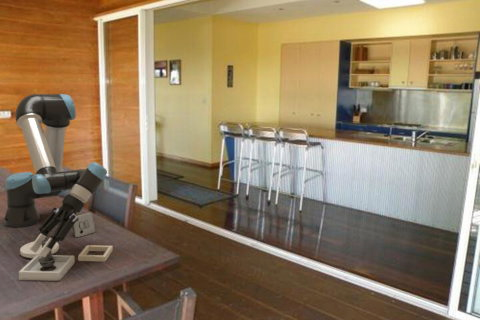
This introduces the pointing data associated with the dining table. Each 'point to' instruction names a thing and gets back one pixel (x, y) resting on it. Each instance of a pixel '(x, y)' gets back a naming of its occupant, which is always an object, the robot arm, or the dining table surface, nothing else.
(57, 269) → the parts tray
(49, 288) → the dining table surface
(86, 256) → the socket collar
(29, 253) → the cream gear
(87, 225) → the electrical switch
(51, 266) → the chess piece
